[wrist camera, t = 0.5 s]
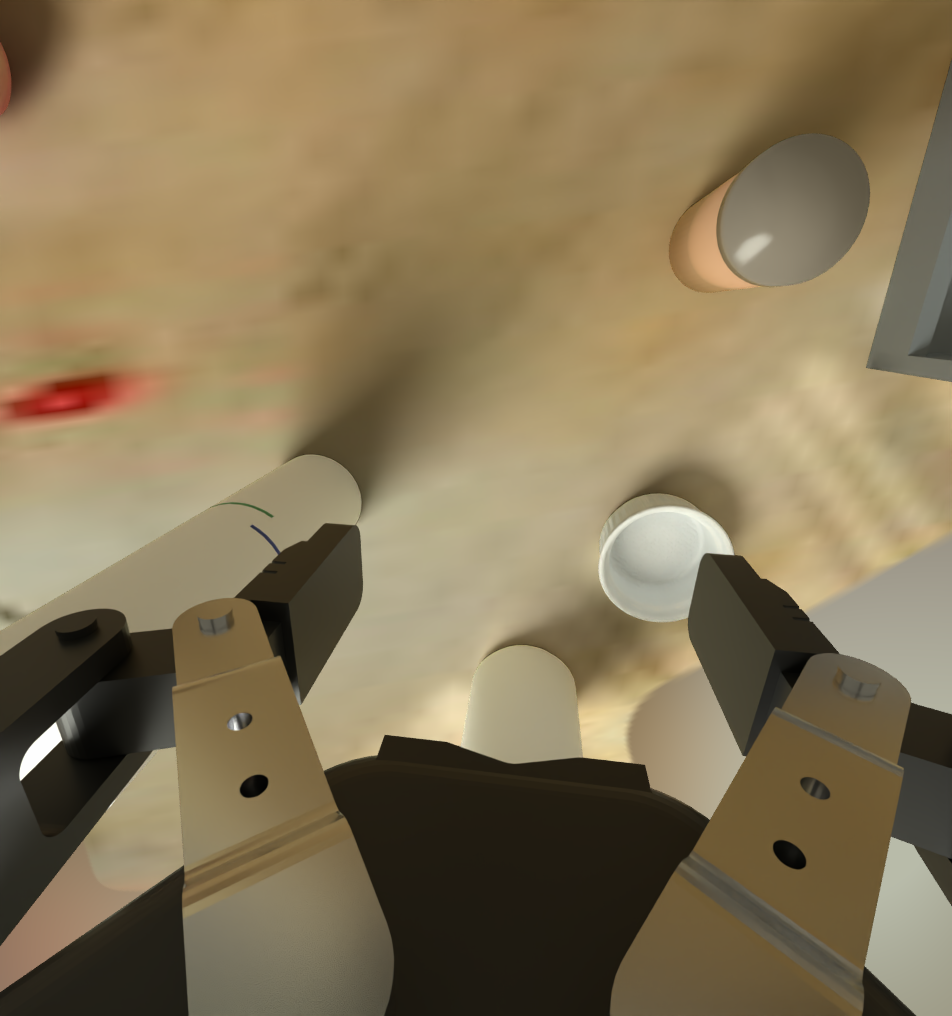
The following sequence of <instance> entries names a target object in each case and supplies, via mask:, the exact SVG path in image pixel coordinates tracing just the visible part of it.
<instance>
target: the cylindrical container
mask: <svg viewBox="0 0 952 1016" xmlns="http://www.w3.org/2000/svg"><path fill="white" fill-rule="evenodd" d="M361 505H362V500H361V494H360V490H359V488H358V485H357V483H356V481H355V480H354V478H353V476H352V475H351V474H350V473H349V472H348V470H347V469H345V468H344V467H343V466H342V465H341V464H339V463H338V462H336V461H334V460H333V459H330V458H327V457H325V456H320V455H314V454H313V455H302V456H299V457H296V458H294V459H292V460H290V461H288V462H287V463H285V464H283V465H281V466H280V467H278V468H276V469H275V470H273V471H271V472H270V473H268V474H266V475H265V476H263V477H261V478H259V479H258V480H256V481H254V482H253V483H251V484H249V485H248V486H246V487H244V488H242V489H241V490H239V491H237V492H236V493H234V494H232V495H231V496H229V497H227V498H226V499H224V500H222V501H220V502H219V503H217V504H215V505H214V506H212V507H210V508H209V509H207V510H205V511H204V512H202V513H200V514H198V515H197V516H195V517H193V518H191V519H190V520H188V521H186V522H184V523H183V524H181V525H179V526H178V527H176V528H174V529H173V530H171V531H169V532H168V533H166V534H164V535H162V536H161V537H159V538H157V539H156V540H154V541H152V542H151V543H149V544H147V545H145V546H144V547H142V548H140V549H139V550H137V551H135V552H134V553H132V554H130V555H128V556H127V557H125V558H123V559H122V560H120V561H118V562H117V563H115V564H113V565H111V566H110V567H108V568H106V569H105V570H103V571H101V572H100V573H98V574H96V575H95V576H93V577H91V578H89V579H88V580H86V581H84V582H83V583H81V584H79V585H78V586H76V587H74V588H72V589H71V590H69V591H67V592H66V593H64V594H62V595H61V596H59V597H57V598H55V599H54V600H52V601H50V602H49V603H47V604H45V605H44V606H42V607H40V608H38V609H37V610H35V611H33V612H32V613H30V614H28V615H27V616H25V617H23V618H22V619H20V620H18V621H16V622H15V623H13V624H11V625H10V626H8V627H6V628H5V629H3V630H1V631H0V656H1V655H2V654H4V653H5V652H6V651H8V650H9V649H11V648H12V647H14V646H15V645H16V644H18V643H19V642H21V641H22V640H24V639H25V638H26V637H28V636H29V635H31V634H32V633H34V632H35V631H36V630H38V629H39V628H41V627H42V626H44V625H46V624H48V623H49V622H51V621H53V620H56V619H58V618H60V617H63V616H66V615H69V614H72V613H76V612H80V611H84V610H91V609H114V610H118V611H120V612H122V613H123V614H124V615H125V617H126V620H127V624H128V628H129V632H130V633H133V632H143V631H152V630H162V629H171V628H172V627H173V624H174V621H175V620H176V619H177V618H178V617H179V616H180V615H181V614H182V613H183V612H185V611H186V610H188V609H190V608H191V607H194V606H196V605H198V604H201V603H204V602H207V601H211V600H215V599H221V598H234V597H235V596H236V595H237V594H238V593H239V592H240V591H241V590H242V589H243V588H244V587H245V586H247V585H248V584H249V583H250V582H251V581H252V580H253V579H254V578H255V577H256V576H257V575H258V574H259V573H260V572H261V573H262V571H263V569H264V568H265V567H266V566H267V565H268V564H269V563H272V560H273V559H274V558H275V557H277V556H278V555H279V554H280V553H281V552H282V551H283V550H284V549H286V548H288V547H290V546H292V545H294V544H296V543H298V542H300V541H308V540H309V539H310V538H311V537H312V536H313V535H314V534H315V533H316V532H317V531H318V530H319V528H320V527H321V526H322V525H323V524H325V523H333V524H346V525H355V524H356V523H357V521H358V519H359V516H360V513H361ZM61 740H62V738H61V735H60V733H59V730H58V727H57V724H56V722H55V723H54V724H53V725H52V726H51V727H50V728H49V729H48V730H47V731H46V732H45V733H44V734H42V735H41V736H40V737H39V738H38V739H37V740H36V741H35V742H34V743H33V744H32V745H31V747H30V748H29V749H28V751H27V752H26V754H25V756H24V758H23V760H22V763H21V767H20V773H19V775H20V781H21V780H22V779H23V778H24V777H25V776H26V775H27V774H28V773H29V772H30V771H31V770H32V769H33V768H34V767H35V766H36V765H37V764H38V763H39V762H40V761H41V760H42V759H43V758H44V757H45V756H46V755H47V754H48V753H49V752H50V751H51V750H52V749H53V748H54V747H55V746H56V745H57V744H58V743H59V742H60V741H61ZM159 750H160V749H158V750H153V751H152V753H151V754H150V755H149V757H148V758H147V759H146V761H145V762H144V763H143V764H142V766H141V767H140V768H139V769H138V771H137V772H136V773H135V775H134V776H133V777H132V778H131V780H130V781H129V782H128V784H127V785H126V786H125V787H124V789H123V790H122V791H121V792H120V794H121V793H122V792H123V791H124V790H125V789H126V787H127V786H128V785H129V784H130V783H131V782H132V781H133V779H134V778H135V777H136V776H137V775H138V774H139V773H140V771H141V770H142V769H143V768H144V767H145V766H146V765H147V763H148V762H149V761H150V760H151V759H152V758H153V756H154V755H155V754H156V753H157V752H158V751H159ZM120 794H119V795H118V796H117V798H118V797H119V796H120ZM117 798H116V799H117ZM116 799H115V800H116ZM115 800H114V801H115ZM114 801H113V802H114ZM112 804H113V803H112ZM112 804H111V805H112ZM111 805H110V806H111Z"/></svg>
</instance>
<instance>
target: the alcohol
mask: <svg viewBox="0 0 952 1016" xmlns="http://www.w3.org/2000/svg"><path fill="white" fill-rule="evenodd" d="M461 747H462V748H465V749H468V750H471V751H474V752H477V753H480V754H483V755H486V756H488V757H491V758H494V759H497V760H500V761H503V762H506V763H512V764H519V763H528V762H538V761H548V760H557V759H567V758H577V757H581V758H583V754H582V744H581V734H580V724H579V714H578V704H577V694H576V686H575V682H574V678H573V676H572V674H571V672H570V670H569V669H568V668H567V666H566V665H565V664H564V663H563V662H562V661H561V660H559V659H558V658H557V657H556V656H554V655H553V654H551V653H549V652H547V651H546V650H544V649H541V648H538V647H535V646H529V645H514V646H508V647H506V648H503V649H500V650H498V651H496V652H494V653H492V654H491V655H489V656H488V657H486V658H485V659H484V660H483V661H482V662H481V663H480V665H479V666H478V667H477V669H476V671H475V674H474V676H473V681H472V687H471V692H470V698H469V703H468V709H467V714H466V720H465V726H464V731H463V737H462V742H461Z"/></svg>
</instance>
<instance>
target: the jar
mask: <svg viewBox="0 0 952 1016" xmlns="http://www.w3.org/2000/svg"><path fill="white" fill-rule="evenodd" d="M869 200H870V186H869V179H868V174H867V171H866V169H865V166H864V164H863V162H862V160H861V158H860V157H859V156H858V154H857V153H856V152H855V151H854V149H852V148H851V147H850V146H849V145H848V144H846V143H845V142H843V141H842V140H840V139H837V138H835V137H832V136H829V135H824V134H813V133H812V134H802V135H798V136H794V137H791V138H788V139H785V140H783V141H781V142H779V143H777V144H775V145H773V146H772V147H770V148H769V149H767V150H766V151H764V152H763V153H762V154H760V155H759V156H757V157H756V158H755V159H753V160H752V161H751V162H750V163H748V164H747V165H746V166H745V167H744V168H743V169H742V170H741V171H740V172H739V173H738V174H736V175H735V176H733V177H732V178H730V179H729V180H728V181H726V182H725V183H723V184H722V185H721V186H719V187H718V188H716V189H715V190H713V191H712V192H711V193H709V194H708V195H706V196H705V197H704V198H702V199H701V200H699V201H698V202H696V203H695V204H694V205H692V206H691V207H690V208H689V209H688V210H687V211H686V212H685V213H684V214H683V215H682V217H681V218H680V219H679V221H678V222H677V224H676V226H675V228H674V230H673V233H672V236H671V240H670V245H669V258H670V264H671V267H672V270H673V272H674V274H675V275H676V277H677V278H678V279H679V280H680V282H681V283H682V284H684V285H685V286H686V287H688V288H690V289H692V290H695V291H698V292H704V293H712V292H721V291H729V290H737V289H745V288H753V287H780V286H789V285H794V284H799V283H803V282H806V281H809V280H811V279H813V278H815V277H817V276H819V275H821V274H822V273H824V272H826V271H827V270H828V269H830V268H831V267H832V266H834V265H835V264H836V263H837V262H838V261H839V260H840V259H841V258H842V257H843V256H844V255H845V254H846V253H847V252H848V251H849V249H850V248H851V246H852V245H853V244H854V242H855V240H856V239H857V237H858V235H859V234H860V231H861V229H862V227H863V225H864V222H865V219H866V216H867V212H868V207H869Z"/></svg>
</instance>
